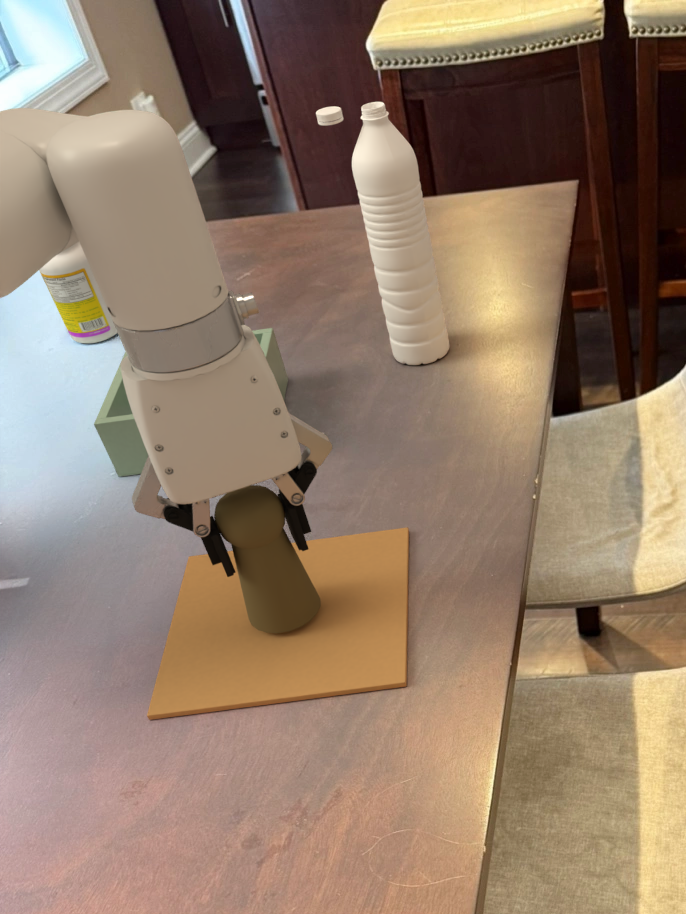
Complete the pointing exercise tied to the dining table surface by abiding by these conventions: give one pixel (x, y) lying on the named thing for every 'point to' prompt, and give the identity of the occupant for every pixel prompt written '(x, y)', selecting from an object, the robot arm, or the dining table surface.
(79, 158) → the robot arm
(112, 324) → the supplement bottle
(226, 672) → the mat
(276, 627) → the pepper shaker
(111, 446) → the open box
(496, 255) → the dining table surface
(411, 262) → the bottle and cap
